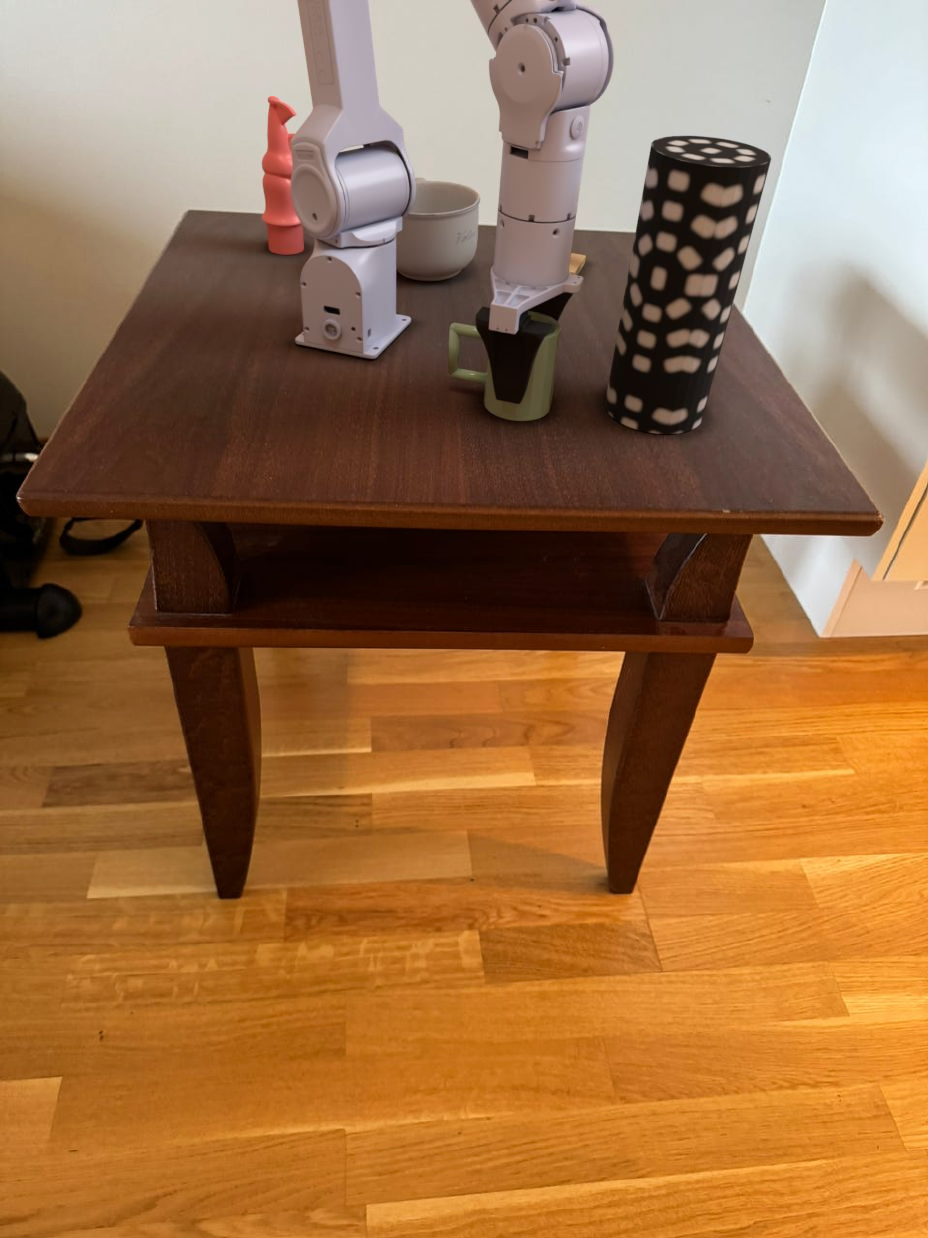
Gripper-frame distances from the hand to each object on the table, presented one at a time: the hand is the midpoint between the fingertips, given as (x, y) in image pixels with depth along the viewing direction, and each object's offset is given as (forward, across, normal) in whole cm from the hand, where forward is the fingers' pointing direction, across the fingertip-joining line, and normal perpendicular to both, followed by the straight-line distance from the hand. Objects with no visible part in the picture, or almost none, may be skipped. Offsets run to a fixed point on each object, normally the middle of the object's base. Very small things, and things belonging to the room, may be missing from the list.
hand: (519, 384), depth 72 cm
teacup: (+2, +27, +18) cm, 33 cm away
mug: (+2, 0, +2) cm, 3 cm away
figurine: (+2, +25, +34) cm, 42 cm away
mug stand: (+2, +30, +5) cm, 30 cm away
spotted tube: (+2, +4, -11) cm, 12 cm away
